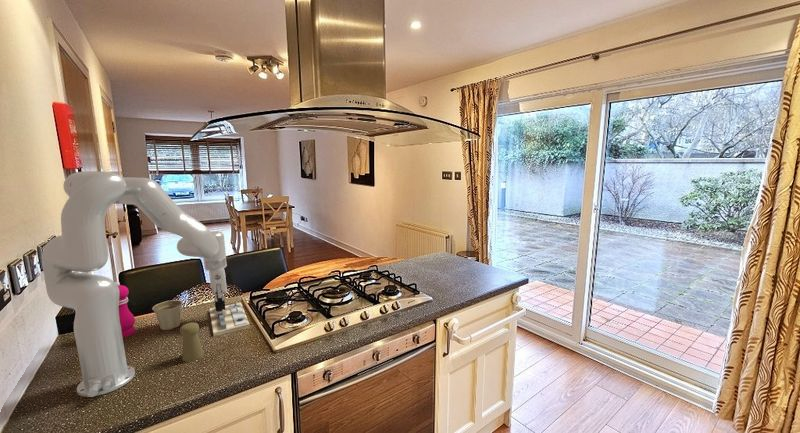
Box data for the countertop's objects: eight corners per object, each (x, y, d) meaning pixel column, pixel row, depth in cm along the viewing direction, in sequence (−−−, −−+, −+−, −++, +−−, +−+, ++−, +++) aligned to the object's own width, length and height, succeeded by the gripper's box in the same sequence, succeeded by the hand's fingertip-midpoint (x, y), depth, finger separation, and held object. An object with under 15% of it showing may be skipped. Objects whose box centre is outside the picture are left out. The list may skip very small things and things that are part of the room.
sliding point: (238, 312, 136) (237, 295, 135) (216, 317, 132) (214, 300, 131) (237, 309, 139) (236, 292, 138) (215, 314, 135) (213, 297, 133)
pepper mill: (107, 336, 122) (98, 283, 119) (130, 327, 129) (123, 277, 125) (117, 341, 119) (108, 287, 116) (141, 332, 125) (133, 280, 122)
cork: (207, 354, 111) (204, 322, 109) (188, 363, 106) (184, 331, 104) (197, 349, 114) (193, 318, 112) (178, 358, 109) (173, 326, 107)
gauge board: (249, 327, 128) (249, 317, 127) (213, 336, 122) (212, 326, 121) (241, 304, 148) (240, 296, 147) (209, 311, 142) (208, 302, 141)
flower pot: (153, 326, 130) (150, 304, 128) (182, 318, 136) (179, 297, 135) (157, 335, 123) (153, 313, 121) (187, 326, 129) (184, 305, 128)
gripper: (228, 267, 126) (233, 314, 129) (224, 256, 139) (228, 299, 143) (205, 271, 122) (210, 319, 125) (203, 259, 135) (208, 303, 139)
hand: (220, 308), depth 134 cm, fingers closed on sliding point, 3 cm apart
